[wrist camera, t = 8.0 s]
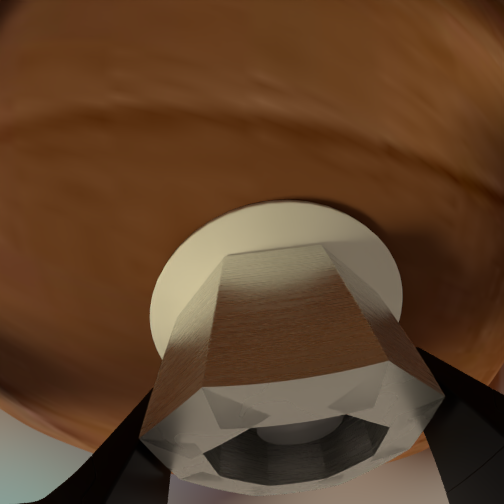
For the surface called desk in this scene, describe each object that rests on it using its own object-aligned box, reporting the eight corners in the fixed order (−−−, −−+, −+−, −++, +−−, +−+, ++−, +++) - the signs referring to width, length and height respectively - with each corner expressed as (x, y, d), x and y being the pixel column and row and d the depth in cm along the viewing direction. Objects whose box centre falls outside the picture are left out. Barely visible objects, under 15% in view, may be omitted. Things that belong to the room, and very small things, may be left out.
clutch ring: (361, 381, 11) (392, 469, 6) (208, 400, 11) (198, 494, 7) (381, 236, 8) (477, 329, 4) (161, 263, 9) (93, 381, 4)
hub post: (288, 420, 13) (299, 489, 9) (118, 341, 11) (80, 422, 6) (430, 296, 10) (488, 359, 6) (259, 135, 8) (283, 125, 4)
